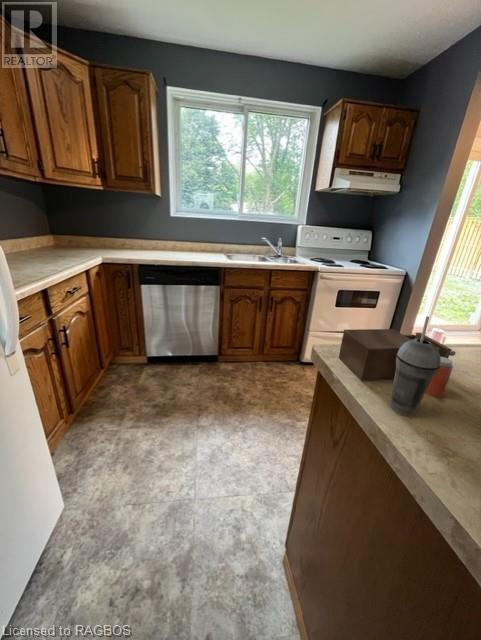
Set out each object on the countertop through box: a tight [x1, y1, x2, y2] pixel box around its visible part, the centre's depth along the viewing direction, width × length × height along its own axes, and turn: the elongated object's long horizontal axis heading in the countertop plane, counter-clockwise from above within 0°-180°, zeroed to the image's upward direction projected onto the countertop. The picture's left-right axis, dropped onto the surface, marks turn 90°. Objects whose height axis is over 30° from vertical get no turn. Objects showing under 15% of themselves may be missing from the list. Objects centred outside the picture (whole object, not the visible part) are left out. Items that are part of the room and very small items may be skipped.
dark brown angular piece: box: [401, 332, 456, 359], centre depth 72 cm, size 18×10×7 cm, turn 98°
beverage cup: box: [389, 315, 441, 418], centre depth 52 cm, size 7×7×20 cm
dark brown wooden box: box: [338, 328, 411, 382], centre depth 70 cm, size 15×12×9 cm
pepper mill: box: [425, 357, 454, 398], centre depth 61 cm, size 4×4×8 cm
